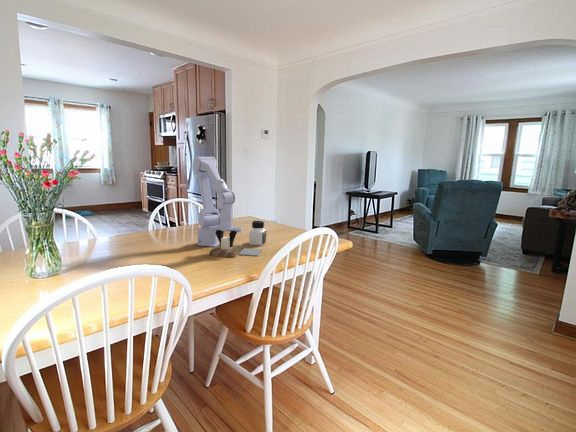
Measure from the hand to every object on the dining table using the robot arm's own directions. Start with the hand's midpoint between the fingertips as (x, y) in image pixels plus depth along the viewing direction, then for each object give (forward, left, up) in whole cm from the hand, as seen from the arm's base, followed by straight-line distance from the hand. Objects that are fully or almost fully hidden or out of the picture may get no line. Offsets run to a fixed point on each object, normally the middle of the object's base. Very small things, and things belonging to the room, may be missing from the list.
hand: (226, 246), depth 147 cm
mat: (+11, +2, -3) cm, 12 cm away
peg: (0, 0, -3) cm, 3 cm away
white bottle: (+11, +18, -3) cm, 21 cm away
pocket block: (0, 0, -3) cm, 3 cm away
